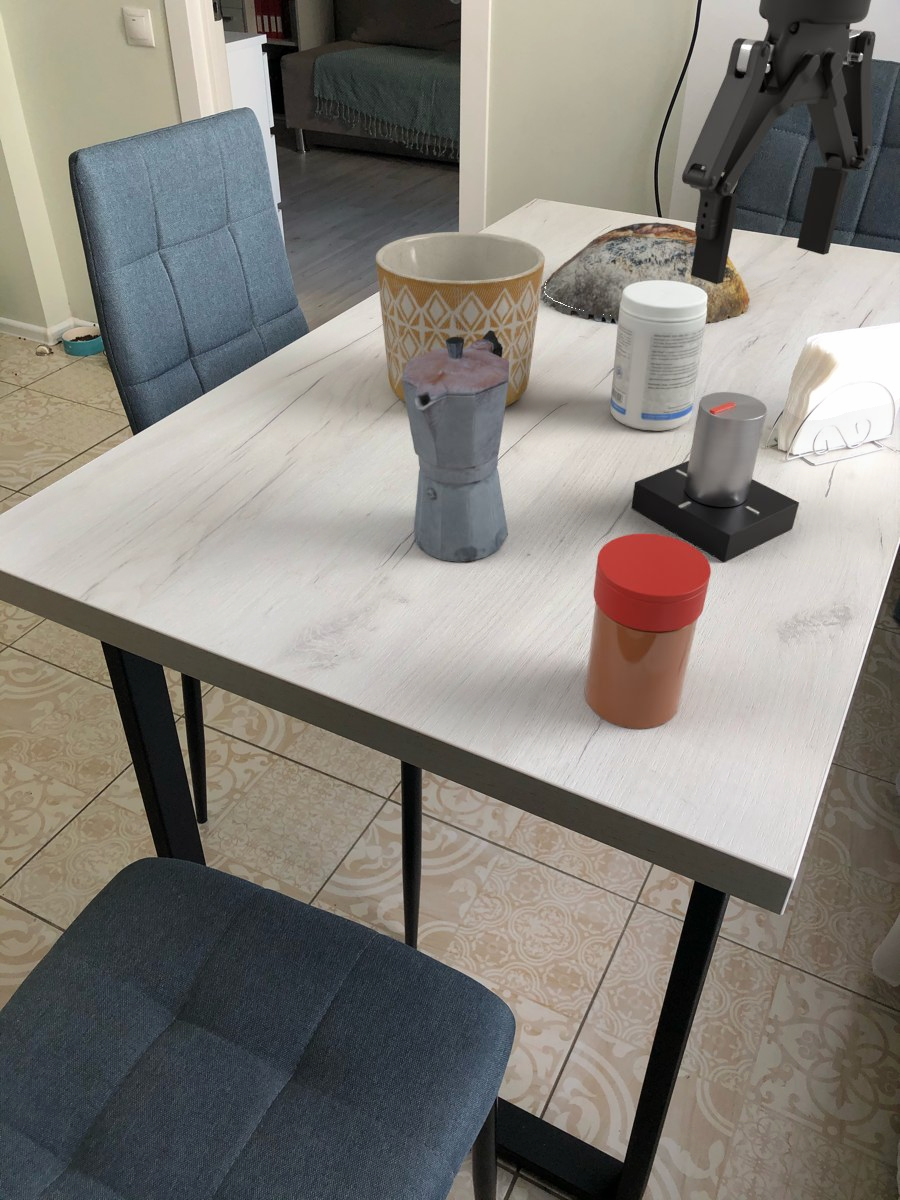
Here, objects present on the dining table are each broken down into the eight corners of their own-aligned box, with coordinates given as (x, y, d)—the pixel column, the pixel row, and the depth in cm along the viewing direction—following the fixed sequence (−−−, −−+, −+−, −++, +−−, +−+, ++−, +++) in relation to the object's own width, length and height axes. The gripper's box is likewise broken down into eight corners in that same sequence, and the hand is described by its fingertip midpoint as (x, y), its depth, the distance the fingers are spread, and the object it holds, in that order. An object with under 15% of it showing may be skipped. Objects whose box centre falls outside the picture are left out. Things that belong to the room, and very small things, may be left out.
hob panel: (793, 528, 91) (800, 500, 89) (723, 563, 86) (729, 534, 85) (699, 479, 99) (704, 452, 97) (630, 508, 94) (634, 480, 92)
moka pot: (379, 565, 86) (369, 355, 74) (445, 488, 97) (446, 295, 85) (476, 589, 83) (482, 374, 71) (532, 507, 94) (546, 310, 82)
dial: (712, 470, 94) (730, 383, 89) (760, 495, 90) (781, 405, 85) (671, 487, 91) (686, 399, 86) (719, 514, 88) (738, 422, 82)
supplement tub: (700, 410, 113) (722, 287, 104) (674, 441, 106) (695, 313, 97) (624, 393, 117) (640, 273, 108) (595, 422, 110) (608, 297, 101)
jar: (699, 703, 71) (727, 579, 64) (632, 743, 68) (653, 616, 61) (631, 654, 76) (650, 533, 69) (565, 688, 72) (578, 565, 65)
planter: (565, 405, 114) (577, 266, 104) (422, 437, 106) (420, 291, 97) (488, 350, 127) (492, 224, 118) (357, 376, 120) (349, 243, 110)
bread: (770, 328, 135) (785, 257, 129) (544, 324, 136) (548, 253, 130) (729, 269, 157) (741, 206, 151) (535, 266, 158) (538, 204, 152)
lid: (611, 557, 70) (615, 523, 68) (713, 582, 68) (721, 547, 66) (579, 614, 65) (583, 578, 63) (690, 643, 62) (697, 607, 60)
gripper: (750, -40, 57) (694, 305, 70) (971, -47, 69) (889, 249, 82) (659, -45, 62) (622, 279, 74) (880, -50, 74) (816, 230, 86)
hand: (761, 264), depth 78 cm, fingers open, 13 cm apart
